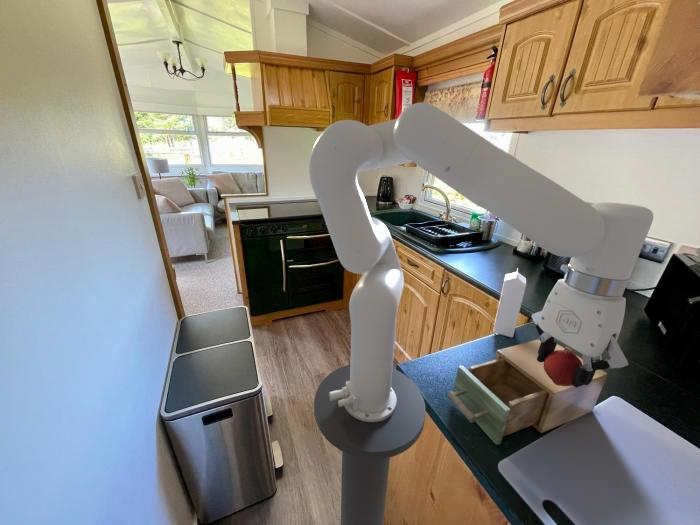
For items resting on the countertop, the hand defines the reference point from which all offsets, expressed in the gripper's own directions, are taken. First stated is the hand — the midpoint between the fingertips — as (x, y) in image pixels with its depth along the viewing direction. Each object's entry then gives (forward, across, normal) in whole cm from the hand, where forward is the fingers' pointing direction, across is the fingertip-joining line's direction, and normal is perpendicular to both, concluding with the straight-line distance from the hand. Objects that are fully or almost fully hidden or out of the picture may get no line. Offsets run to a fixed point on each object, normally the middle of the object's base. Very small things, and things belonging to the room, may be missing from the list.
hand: (560, 370), depth 52 cm
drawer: (+17, -8, -4) cm, 19 cm away
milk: (+18, -34, +27) cm, 47 cm away
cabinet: (+18, -8, +11) cm, 23 cm away
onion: (+3, 0, 0) cm, 3 cm away
